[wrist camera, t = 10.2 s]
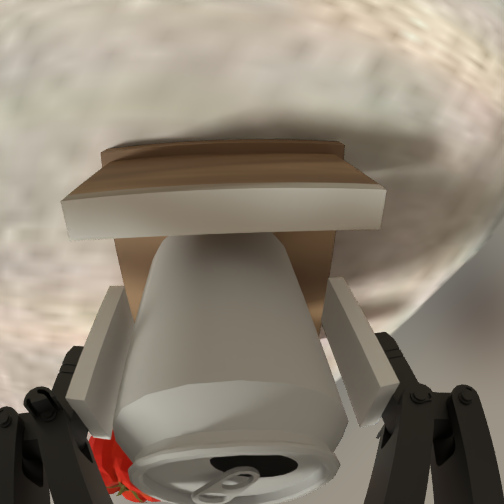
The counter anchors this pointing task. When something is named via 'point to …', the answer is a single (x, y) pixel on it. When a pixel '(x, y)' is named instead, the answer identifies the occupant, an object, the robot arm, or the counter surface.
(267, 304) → the can
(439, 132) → the counter surface
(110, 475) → the tomato
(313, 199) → the cradle holder
